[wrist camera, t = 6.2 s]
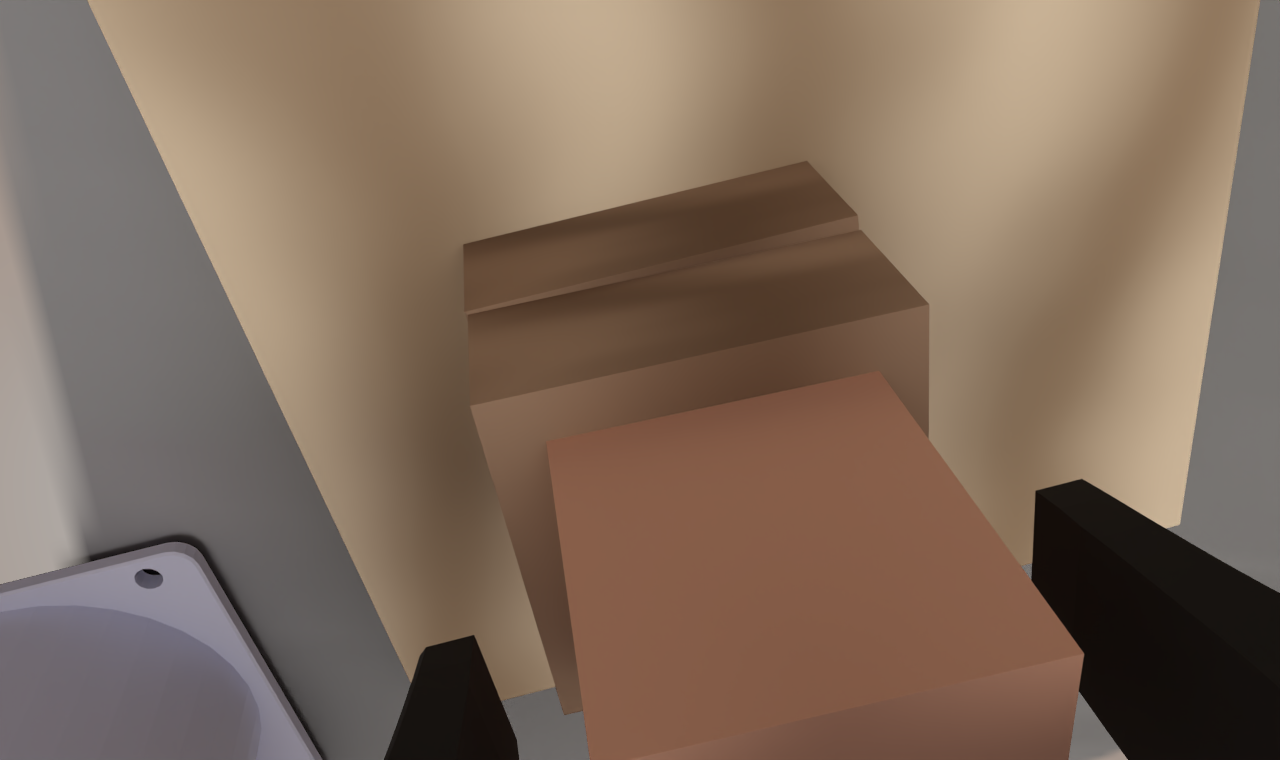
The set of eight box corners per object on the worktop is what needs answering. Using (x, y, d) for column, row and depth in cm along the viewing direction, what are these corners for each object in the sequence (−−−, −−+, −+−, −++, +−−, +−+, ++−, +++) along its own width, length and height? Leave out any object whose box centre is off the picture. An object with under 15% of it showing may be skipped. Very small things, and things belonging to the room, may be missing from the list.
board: (429, 685, 23) (428, 720, 22) (-149, -573, 11) (-198, -601, 10) (1153, 498, 24) (1179, 524, 23) (1334, -875, 12) (1401, -926, 11)
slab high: (551, 603, 18) (564, 715, 15) (467, 315, 14) (469, 405, 12) (871, 528, 18) (927, 628, 16) (861, 229, 15) (929, 304, 12)
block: (602, 673, 15) (659, 1018, 11) (546, 441, 13) (590, 768, 8) (881, 610, 15) (1043, 921, 11) (878, 370, 13) (1084, 653, 9)
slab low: (547, 511, 20) (558, 599, 17) (462, 244, 16) (464, 311, 14) (834, 438, 20) (879, 516, 18) (806, 160, 17) (857, 215, 14)
